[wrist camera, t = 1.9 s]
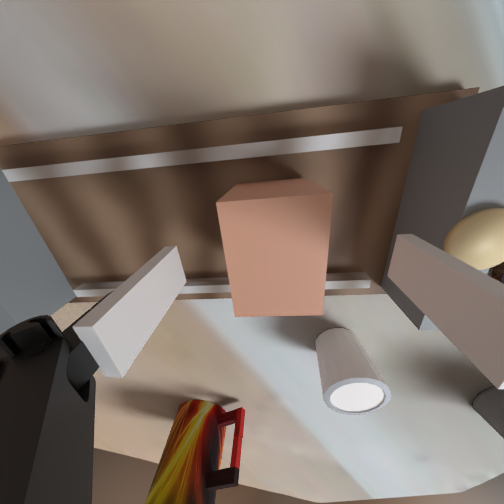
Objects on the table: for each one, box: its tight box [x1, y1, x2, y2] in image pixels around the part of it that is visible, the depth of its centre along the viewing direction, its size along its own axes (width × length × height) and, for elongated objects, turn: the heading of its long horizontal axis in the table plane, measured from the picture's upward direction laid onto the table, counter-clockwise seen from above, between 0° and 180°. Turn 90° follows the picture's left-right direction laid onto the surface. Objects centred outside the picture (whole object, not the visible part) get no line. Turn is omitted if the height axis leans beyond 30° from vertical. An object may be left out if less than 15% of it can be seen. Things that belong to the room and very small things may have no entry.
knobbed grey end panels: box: [0, 86, 504, 334], centre depth 17 cm, size 44×16×7 cm, turn 95°
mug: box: [145, 400, 245, 504], centre depth 32 cm, size 10×14×12 cm
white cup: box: [316, 328, 392, 415], centre depth 24 cm, size 7×7×7 cm
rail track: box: [0, 87, 480, 303], centre depth 20 cm, size 44×18×2 cm, turn 95°
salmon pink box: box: [216, 178, 333, 317], centre depth 15 cm, size 6×8×8 cm
